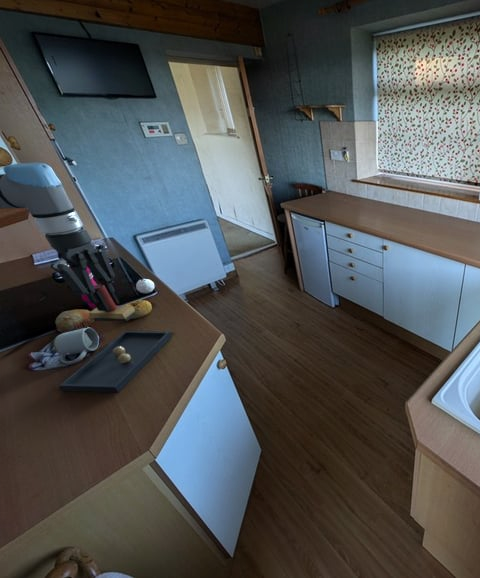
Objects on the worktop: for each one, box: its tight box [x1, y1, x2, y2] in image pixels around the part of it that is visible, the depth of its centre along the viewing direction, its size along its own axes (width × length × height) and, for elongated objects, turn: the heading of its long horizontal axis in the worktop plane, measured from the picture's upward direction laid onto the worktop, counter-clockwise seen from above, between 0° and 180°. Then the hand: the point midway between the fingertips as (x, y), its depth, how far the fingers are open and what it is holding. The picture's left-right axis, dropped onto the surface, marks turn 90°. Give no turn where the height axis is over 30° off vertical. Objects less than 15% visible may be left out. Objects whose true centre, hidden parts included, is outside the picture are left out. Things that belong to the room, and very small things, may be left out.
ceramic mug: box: [52, 326, 100, 365], centre depth 92 cm, size 11×8×8 cm
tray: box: [59, 330, 173, 393], centre depth 91 cm, size 16×24×2 cm, turn 179°
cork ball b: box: [118, 353, 131, 363], centre depth 90 cm, size 3×3×3 cm
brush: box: [89, 283, 136, 323], centre depth 85 cm, size 10×4×11 cm, turn 89°
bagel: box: [123, 299, 153, 320], centre depth 112 cm, size 10×11×5 cm
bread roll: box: [54, 308, 95, 334], centre depth 105 cm, size 10×10×8 cm
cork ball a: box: [113, 346, 125, 356], centre depth 92 cm, size 3×3×3 cm
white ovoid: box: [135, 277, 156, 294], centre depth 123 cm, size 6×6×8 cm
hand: (109, 306), depth 86 cm, fingers closed on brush, 3 cm apart
